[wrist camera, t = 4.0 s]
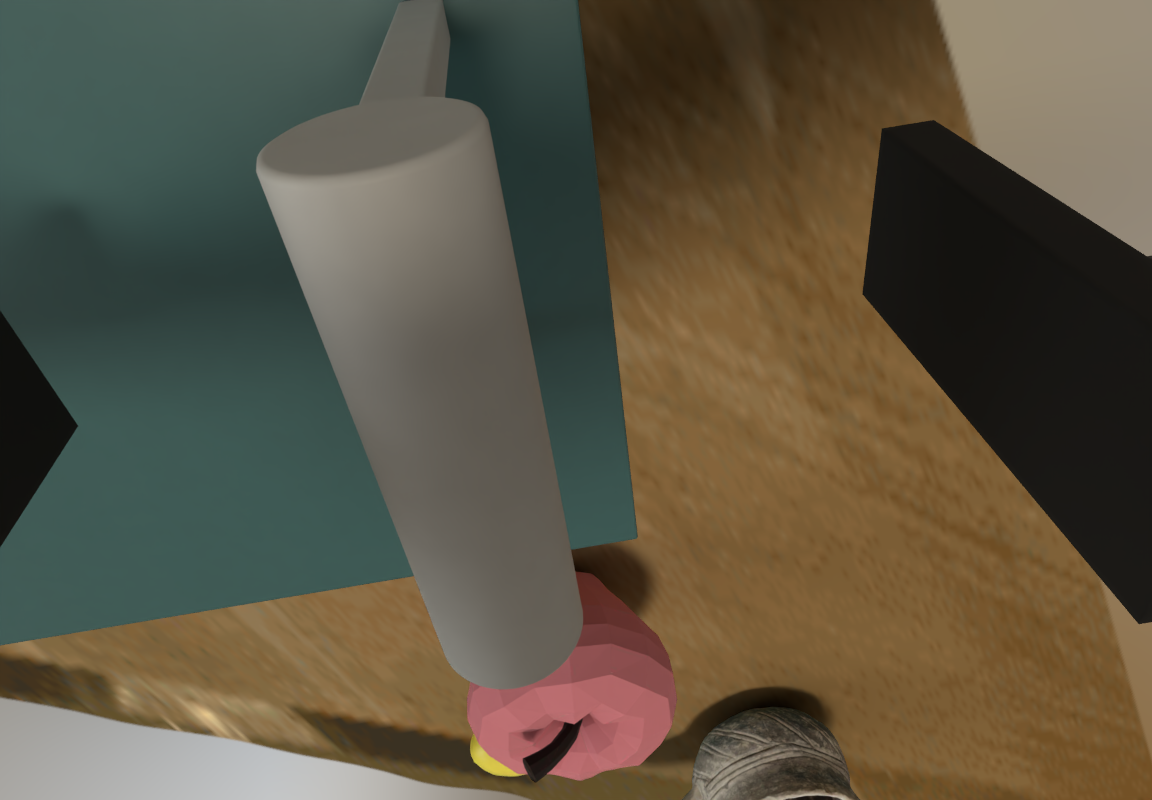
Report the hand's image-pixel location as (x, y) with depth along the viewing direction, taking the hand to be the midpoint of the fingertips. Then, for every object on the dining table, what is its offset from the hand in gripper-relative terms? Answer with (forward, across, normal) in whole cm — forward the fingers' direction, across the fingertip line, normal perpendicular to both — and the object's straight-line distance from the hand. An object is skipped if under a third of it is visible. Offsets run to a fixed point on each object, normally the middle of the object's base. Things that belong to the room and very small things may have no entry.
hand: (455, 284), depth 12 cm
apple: (+15, -1, -26) cm, 30 cm away
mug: (+15, +8, -43) cm, 46 cm away
